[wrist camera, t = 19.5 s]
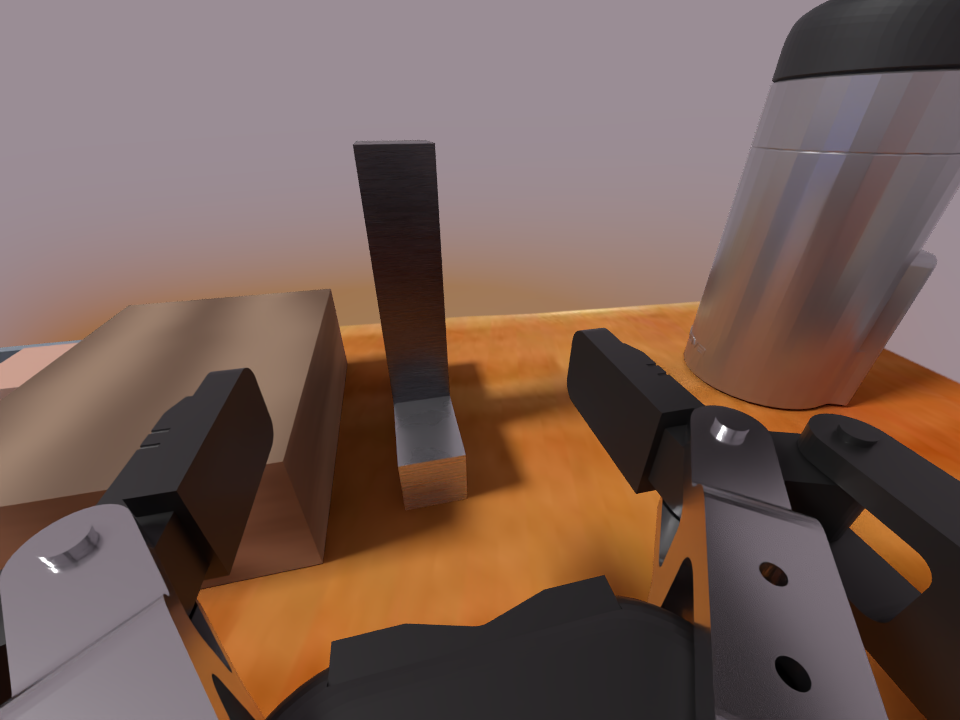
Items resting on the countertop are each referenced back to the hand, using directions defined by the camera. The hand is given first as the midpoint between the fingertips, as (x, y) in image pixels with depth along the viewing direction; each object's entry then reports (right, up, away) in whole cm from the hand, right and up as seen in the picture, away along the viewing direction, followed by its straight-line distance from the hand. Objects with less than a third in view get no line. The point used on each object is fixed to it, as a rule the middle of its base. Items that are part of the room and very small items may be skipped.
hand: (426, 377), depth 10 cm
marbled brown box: (-13, -5, +12) cm, 18 cm away
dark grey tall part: (-2, -3, +14) cm, 14 cm away
